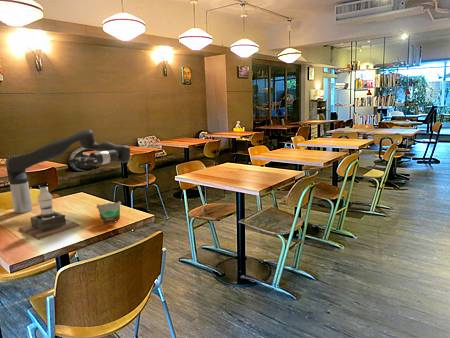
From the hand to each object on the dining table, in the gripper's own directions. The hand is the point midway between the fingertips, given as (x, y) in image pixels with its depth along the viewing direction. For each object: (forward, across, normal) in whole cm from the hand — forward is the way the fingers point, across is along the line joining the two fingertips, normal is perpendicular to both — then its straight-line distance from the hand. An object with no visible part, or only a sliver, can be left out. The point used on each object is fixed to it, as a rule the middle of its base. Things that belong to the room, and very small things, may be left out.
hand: (72, 162), depth 183 cm
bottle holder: (+17, +2, +31) cm, 35 cm away
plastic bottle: (+17, +2, +30) cm, 34 cm away
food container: (-6, +22, +31) cm, 38 cm away
